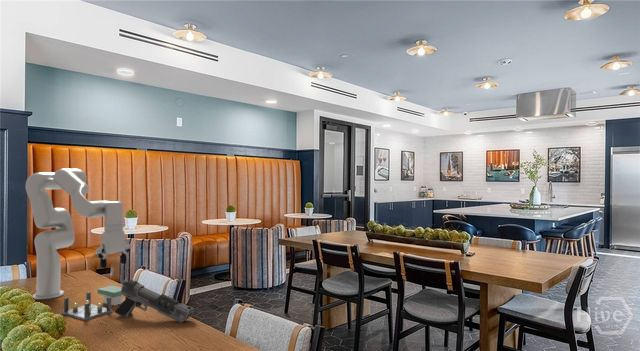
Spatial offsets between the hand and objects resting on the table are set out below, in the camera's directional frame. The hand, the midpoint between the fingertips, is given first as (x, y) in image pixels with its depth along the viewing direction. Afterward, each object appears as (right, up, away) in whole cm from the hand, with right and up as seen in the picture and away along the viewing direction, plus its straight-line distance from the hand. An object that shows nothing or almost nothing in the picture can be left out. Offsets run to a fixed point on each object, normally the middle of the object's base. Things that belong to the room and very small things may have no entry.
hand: (113, 265), depth 182 cm
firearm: (+26, -18, -20) cm, 38 cm away
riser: (0, -17, 0) cm, 17 cm away
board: (0, -13, 0) cm, 13 cm away
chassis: (-4, -17, -13) cm, 22 cm away
